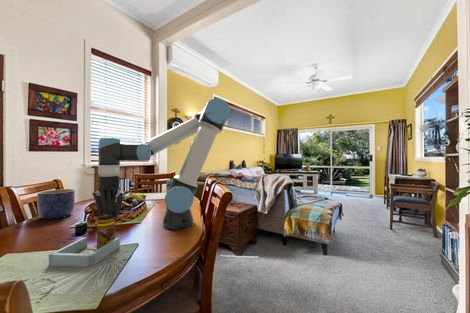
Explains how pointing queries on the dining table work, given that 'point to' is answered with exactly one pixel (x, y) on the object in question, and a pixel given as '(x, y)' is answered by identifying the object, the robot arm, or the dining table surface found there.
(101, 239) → the condiment
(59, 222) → the dining table surface
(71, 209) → the planter
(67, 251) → the bay
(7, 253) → the dining table surface
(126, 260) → the dining table surface
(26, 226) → the dining table surface
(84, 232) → the black angular block
